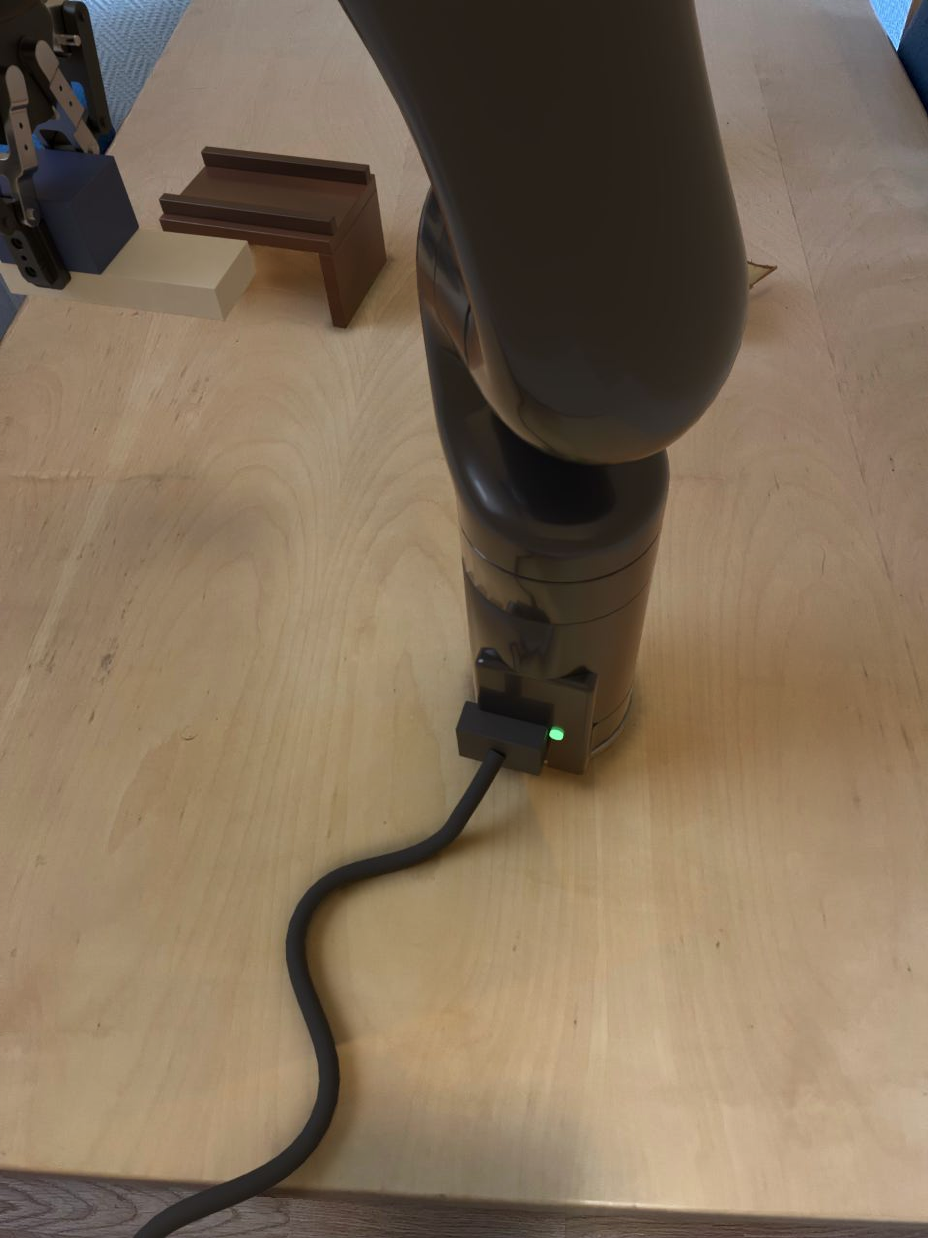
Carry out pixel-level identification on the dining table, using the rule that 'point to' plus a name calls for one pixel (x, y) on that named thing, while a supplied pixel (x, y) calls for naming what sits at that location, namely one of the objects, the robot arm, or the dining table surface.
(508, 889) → the dining table surface
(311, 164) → the shoe shelf
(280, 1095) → the dining table surface
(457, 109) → the robot arm
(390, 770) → the dining table surface
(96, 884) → the dining table surface
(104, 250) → the shoe
